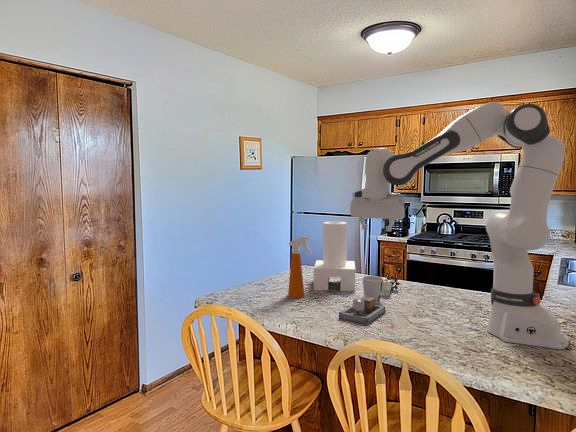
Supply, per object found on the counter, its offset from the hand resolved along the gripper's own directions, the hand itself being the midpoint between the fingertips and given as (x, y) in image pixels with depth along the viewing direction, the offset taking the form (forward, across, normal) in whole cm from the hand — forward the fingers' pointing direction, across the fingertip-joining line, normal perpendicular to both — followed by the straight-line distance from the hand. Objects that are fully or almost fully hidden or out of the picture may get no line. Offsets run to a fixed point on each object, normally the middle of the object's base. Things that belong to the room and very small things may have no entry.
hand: (376, 230), depth 146 cm
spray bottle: (+31, +35, -1) cm, 47 cm away
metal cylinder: (+31, +2, +9) cm, 32 cm away
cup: (+31, +6, -11) cm, 34 cm away
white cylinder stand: (+31, +32, -26) cm, 52 cm away
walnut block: (+31, +2, +2) cm, 31 cm away
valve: (+31, +6, -28) cm, 42 cm away
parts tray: (+31, +2, +6) cm, 32 cm away
